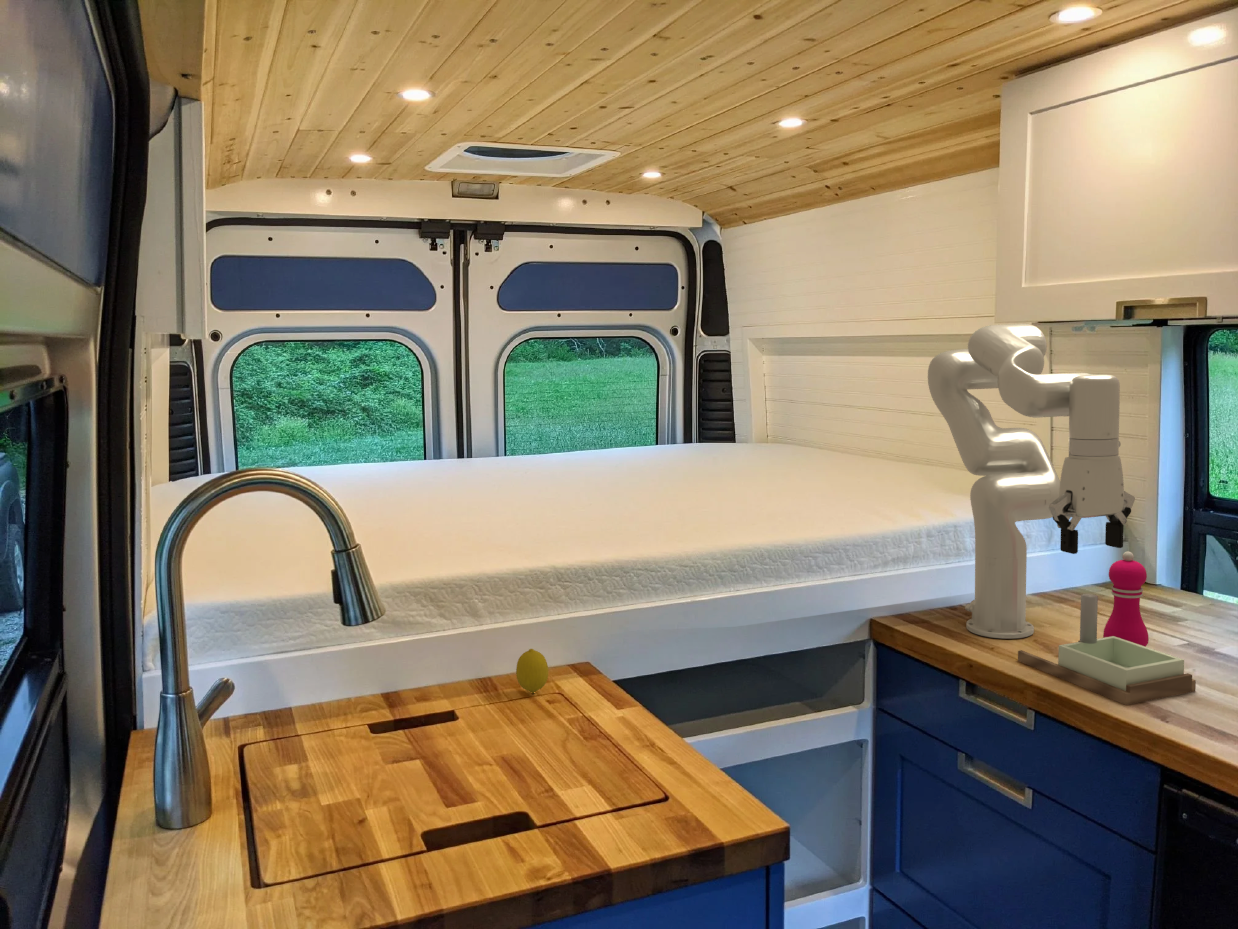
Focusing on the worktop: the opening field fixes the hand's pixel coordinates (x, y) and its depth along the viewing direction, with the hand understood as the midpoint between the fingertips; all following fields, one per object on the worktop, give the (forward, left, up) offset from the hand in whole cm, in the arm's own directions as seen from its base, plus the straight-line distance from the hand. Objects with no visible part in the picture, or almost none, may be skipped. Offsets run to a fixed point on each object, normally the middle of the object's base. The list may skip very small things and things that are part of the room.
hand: (1091, 549), depth 164 cm
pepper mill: (-4, +12, -23) cm, 26 cm away
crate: (+6, 0, -21) cm, 22 cm away
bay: (+3, 0, -22) cm, 23 cm away
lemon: (-33, -90, -23) cm, 98 cm away
